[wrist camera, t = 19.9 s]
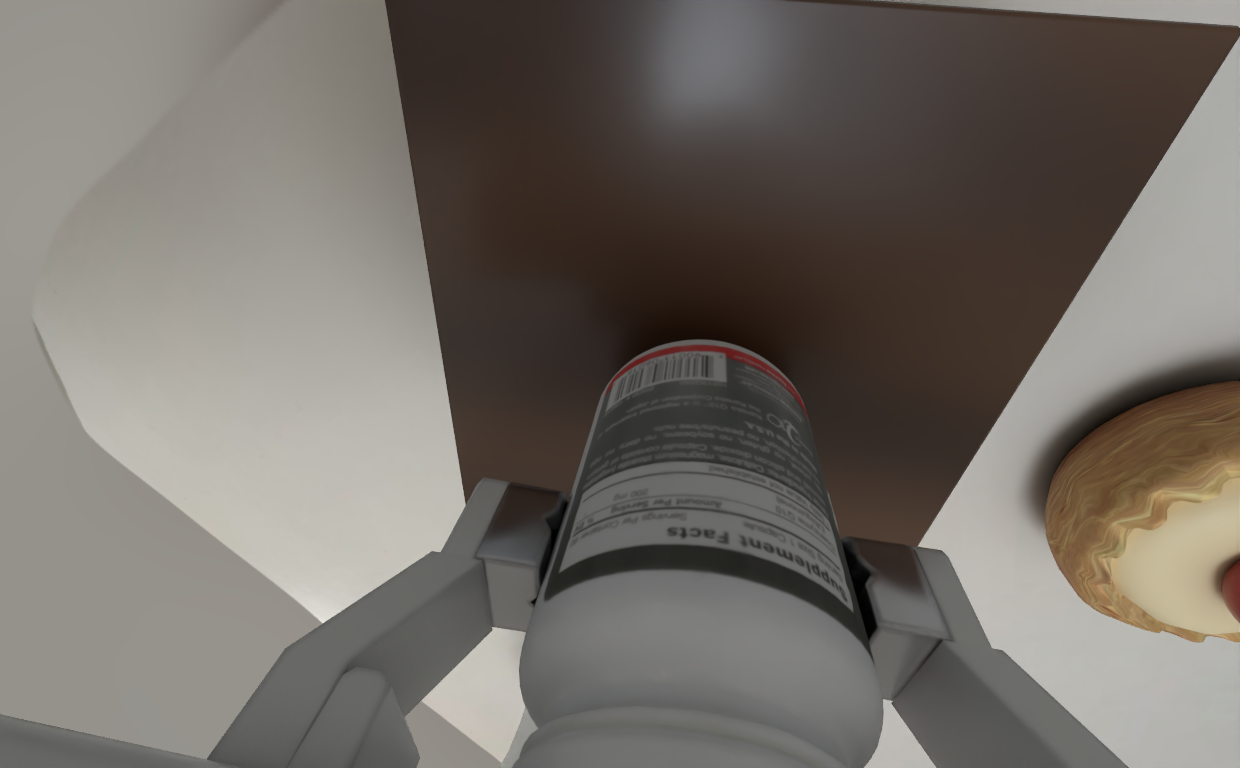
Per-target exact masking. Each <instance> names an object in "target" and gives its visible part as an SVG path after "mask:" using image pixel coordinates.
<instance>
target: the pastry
mask: <svg viewBox="0 0 1240 768" xmlns="http://www.w3.org/2000/svg"><path fill="white" fill-rule="evenodd" d="M1045 525H1046V536H1047V540H1048V544H1049V547H1050V549H1051V552H1052V554H1053V557H1054V559H1055V561H1056V563H1057V566H1058V567H1059V569H1060V570H1061V572H1062V573H1063V575H1064V576H1065V578H1066V579H1067V581H1068V582H1069V583H1070V585H1071V586H1072V588H1073V589H1074V590H1075V592H1076V593H1077V595H1078V596H1079V597H1080V598H1081V599H1082V600H1083V601H1084V602H1085V603H1086V604H1088V605H1089V606H1091V607H1092V608H1093V609H1095V610H1096V611H1098V612H1100V613H1102V614H1104V615H1107V616H1109V617H1112V618H1115V619H1117V620H1119V621H1122V622H1124V623H1127V624H1130V625H1132V626H1135V627H1138V628H1141V629H1143V630H1146V631H1151V632H1156V633H1160V631H1165V632H1169V633H1172V634H1175V635H1177V636H1180V637H1182V638H1185V639H1187V640H1189V641H1192V642H1203V641H1204V640H1205V637H1206V636H1215V637H1221V638H1224V639H1227V640H1230V641H1234V642H1240V381H1229V382H1222V383H1214V384H1208V385H1203V386H1198V387H1193V388H1188V389H1183V390H1180V391H1177V392H1174V393H1171V394H1168V395H1165V396H1162V397H1159V398H1156V399H1154V400H1151V401H1148V402H1146V403H1143V404H1141V405H1138V406H1136V407H1134V408H1132V409H1130V410H1128V411H1126V412H1124V413H1122V414H1120V415H1118V416H1117V417H1115V418H1113V419H1111V420H1110V421H1108V422H1106V423H1105V424H1103V425H1101V426H1099V427H1098V428H1096V429H1095V430H1094V431H1093V432H1091V433H1090V434H1089V435H1088V436H1086V437H1085V438H1084V439H1083V440H1081V441H1080V442H1079V443H1078V444H1077V445H1076V446H1075V447H1074V448H1073V449H1072V450H1071V451H1070V452H1069V453H1068V454H1067V455H1066V457H1065V458H1064V459H1063V461H1062V462H1061V464H1060V465H1059V467H1058V468H1057V470H1056V472H1055V474H1054V475H1053V478H1052V482H1051V485H1050V489H1049V494H1048V499H1047V503H1046V509H1045Z"/></svg>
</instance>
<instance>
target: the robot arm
mask: <svg viewBox="0 0 1240 768" xmlns="http://www.w3.org/2000/svg"><path fill="white" fill-rule="evenodd" d="M566 507H567V493H566V492H564V491H558V490H553V489H548V488H542V487H537V486H532V485H526V484H521V483H515V482H508V481H502V480H497V479H491V478H486V477H484V478H483V479H482V480H481V481H480V482H479V483H478V484H477V486H476V487H475V489H474V491H473V493H472V495H471V497H470V499H469V500H468V502H467V504H466V506H465V508H464V510H463V512H462V514H461V515H460V517H459V519H458V521H457V523H456V525H455V527H454V528H453V530H452V532H451V534H450V536H449V538H448V540H447V542H446V543H445V545H444V547H443V549H442V551H441V552H434V551H432V552H430V553H429V554H427V555H426V556H424V557H423V558H421V559H420V560H418V561H417V562H415V563H414V564H412V565H411V566H409V567H408V568H406V569H405V570H403V571H402V572H400V573H399V574H397V575H396V576H394V577H392V578H391V579H389V580H388V581H386V582H385V583H383V584H382V585H380V586H379V587H377V588H376V589H374V590H373V591H371V592H370V593H368V594H367V595H365V596H364V597H362V598H361V599H359V600H358V601H356V602H355V603H353V604H352V605H350V606H349V607H347V608H346V609H344V610H343V611H341V612H340V613H338V614H337V615H335V616H334V617H332V618H331V619H329V620H328V621H326V622H325V623H323V624H322V625H320V626H319V627H317V628H316V629H314V630H313V631H311V632H310V633H308V634H307V635H305V636H303V637H302V638H300V639H299V640H297V641H296V642H295V643H293V644H291V645H290V646H288V647H287V648H286V649H285V650H284V651H283V653H282V654H281V655H280V657H279V658H278V660H277V661H276V663H275V664H274V665H273V667H272V668H271V670H270V671H269V672H268V674H267V675H266V676H265V678H264V680H263V681H262V682H261V683H260V685H259V686H258V688H257V689H256V690H255V692H254V693H253V695H252V696H251V698H250V699H249V700H248V702H247V703H246V705H245V706H244V707H243V709H242V710H241V712H240V713H239V714H238V716H237V717H236V719H235V720H234V722H233V723H232V724H231V726H230V727H229V728H228V730H227V731H226V733H225V734H224V736H223V737H222V739H221V740H220V741H219V743H218V744H217V746H216V747H215V748H214V750H213V751H212V752H211V754H210V755H209V757H208V758H207V760H205V759H201V758H196V757H192V756H187V755H183V754H178V753H174V752H169V751H164V750H160V749H156V748H151V747H146V746H142V745H137V744H133V743H128V742H124V741H119V740H115V739H110V738H105V737H101V736H96V735H91V734H87V733H83V732H78V731H74V730H69V729H64V728H60V727H55V726H51V725H46V724H42V723H37V722H32V721H28V720H23V719H18V718H14V717H10V716H4V715H0V768H416V767H417V764H418V762H419V759H420V757H419V753H418V750H417V747H416V745H415V742H414V739H413V737H412V735H411V732H410V730H409V727H408V725H407V722H406V720H405V716H406V715H407V714H408V713H409V712H410V711H411V710H412V709H413V708H414V707H415V706H416V705H417V704H418V703H419V702H420V701H421V700H422V699H423V698H424V697H425V696H426V695H427V694H428V693H429V692H430V691H431V690H432V689H433V688H434V687H435V686H436V685H437V684H438V683H439V682H440V681H441V680H442V679H443V678H444V677H445V676H446V675H447V674H448V673H450V672H451V671H452V670H453V669H454V668H455V667H456V666H457V665H458V664H459V663H460V662H461V661H462V660H463V659H464V658H465V657H466V656H467V655H468V654H469V653H470V652H471V651H472V650H473V649H474V648H475V647H476V646H477V645H478V644H479V643H480V642H481V641H482V640H483V639H484V638H485V637H486V636H487V635H488V634H489V633H490V632H491V631H492V627H497V628H504V629H510V630H516V631H523V632H527V629H528V625H529V621H530V618H531V614H532V612H533V609H534V605H535V602H536V599H537V596H538V593H539V589H540V586H541V583H542V580H543V578H544V575H545V572H546V569H547V566H548V563H549V560H550V557H551V554H552V550H553V546H554V543H555V540H556V536H557V533H558V531H559V528H560V525H561V521H562V518H563V516H564V513H565V510H566ZM841 542H842V546H843V550H844V554H845V557H846V561H847V565H848V569H849V572H850V576H851V580H852V583H853V587H854V591H855V594H856V598H857V601H858V605H859V609H860V612H861V616H862V620H863V623H864V627H865V630H866V634H867V637H868V641H869V645H870V648H871V652H872V656H873V659H874V663H875V667H876V671H877V676H878V680H879V685H880V689H881V694H882V699H886V700H891V701H893V702H892V705H893V706H894V708H895V709H896V711H897V712H898V713H899V715H900V716H901V718H902V719H903V720H904V722H905V723H906V725H907V726H908V728H909V729H910V730H911V732H912V733H913V735H914V736H915V738H916V739H917V740H918V742H919V743H920V745H921V746H922V747H923V749H924V750H925V752H926V753H927V755H928V756H929V757H930V759H931V760H932V762H933V763H934V765H935V766H936V767H937V768H1129V767H1128V766H1127V765H1125V764H1124V763H1123V762H1122V761H1121V760H1120V759H1119V758H1118V757H1117V756H1116V755H1115V754H1114V753H1113V752H1111V751H1110V750H1109V749H1108V748H1107V747H1106V746H1105V745H1104V744H1103V743H1102V742H1101V741H1100V740H1099V739H1097V738H1096V737H1095V736H1094V735H1093V734H1092V733H1091V732H1090V731H1089V730H1088V729H1087V728H1086V727H1085V726H1083V725H1082V724H1081V723H1080V722H1079V721H1078V720H1077V719H1076V718H1075V717H1074V716H1073V715H1072V714H1071V713H1069V712H1068V711H1067V710H1066V709H1065V708H1064V707H1063V706H1062V705H1061V704H1060V703H1059V702H1058V701H1057V700H1055V699H1054V698H1053V697H1052V696H1051V695H1050V694H1049V693H1048V692H1047V691H1046V690H1045V689H1044V688H1043V687H1041V686H1040V685H1039V684H1038V683H1037V682H1036V681H1035V680H1034V679H1033V678H1032V677H1031V676H1030V675H1028V674H1027V673H1026V672H1025V671H1024V670H1023V669H1022V668H1021V667H1020V666H1019V665H1018V664H1017V663H1016V662H1014V661H1013V660H1012V659H1011V658H1010V657H1009V656H1008V655H1007V654H1006V653H1005V652H1004V651H1003V650H998V649H993V648H992V647H991V645H990V643H989V641H988V639H987V637H986V635H985V633H984V631H983V628H982V626H981V624H980V622H979V620H978V618H977V616H976V614H975V612H974V610H973V608H972V605H971V603H970V601H969V599H968V597H967V595H966V593H965V591H964V589H963V587H962V585H961V583H960V580H959V578H958V576H957V574H956V572H955V570H954V568H953V566H952V564H951V562H950V560H949V558H948V556H947V555H946V554H945V553H944V552H943V551H942V550H936V549H929V548H923V547H916V546H910V545H909V546H907V545H905V544H899V543H892V542H885V541H878V540H872V539H865V538H858V537H851V536H845V537H844V538H842V539H841Z"/></svg>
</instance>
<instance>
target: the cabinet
mask: <svg viewBox="0 0 1240 768" xmlns="http://www.w3.org/2000/svg"><path fill="white" fill-rule="evenodd" d="M385 3H386V9H387V16H388V22H389V28H390V34H391V41H392V47H393V53H394V59H395V66H396V72H397V78H398V84H399V91H400V97H401V103H402V109H403V115H404V122H405V128H406V134H407V140H408V147H409V153H410V159H411V165H412V172H413V178H414V184H415V190H416V197H417V203H418V209H419V215H420V222H421V228H422V234H423V240H424V247H425V253H426V259H427V265H428V272H429V278H430V284H431V290H432V297H433V303H434V309H435V315H436V322H437V328H438V334H439V340H440V347H441V353H442V359H443V365H444V372H445V378H446V384H447V390H448V396H449V403H450V409H451V415H452V421H453V428H454V434H455V440H456V446H457V453H458V459H459V465H460V471H461V478H462V484H463V490H464V496H465V503H466V504H467V502H468V500H469V499H470V497H471V495H472V493H473V491H474V489H475V487H476V486H477V484H478V483H479V482H480V481H481V480H482V479H483V478H484V477H486V478H491V479H497V480H502V481H508V482H515V483H521V484H526V485H532V486H537V487H542V488H548V489H553V490H558V491H564V492H566V493H567V503H568V500H569V497H570V494H571V490H572V487H573V484H574V481H575V477H576V474H577V471H578V468H579V465H580V462H581V458H582V455H583V452H584V449H585V445H586V442H587V439H588V436H589V433H590V429H591V424H592V422H593V419H594V417H595V413H596V410H597V407H598V403H599V401H600V398H601V396H602V393H603V392H604V390H605V388H606V386H607V384H608V383H609V382H610V381H611V379H612V378H613V377H614V375H615V374H616V373H617V372H618V371H619V370H620V369H621V368H622V367H623V366H624V365H626V364H627V363H628V362H629V361H631V360H632V359H633V358H635V357H636V356H638V355H640V354H642V353H644V352H646V351H648V350H650V349H652V348H655V347H657V346H660V345H664V344H667V343H672V342H677V341H683V340H696V339H701V340H716V341H722V342H726V343H730V344H734V345H737V346H740V347H743V348H745V349H748V350H750V351H752V352H754V353H756V354H758V355H760V356H761V357H763V358H765V359H766V360H768V361H769V362H770V363H772V364H773V365H774V366H775V367H777V368H778V369H779V370H780V371H781V372H782V373H783V374H784V375H785V376H786V377H787V378H788V379H789V380H790V381H791V383H792V384H793V385H794V387H795V388H796V390H797V392H798V393H799V395H800V397H801V399H802V401H803V403H804V406H805V409H806V413H807V415H808V418H809V422H810V426H811V430H812V434H813V439H814V443H815V447H816V450H817V454H818V458H819V462H820V466H821V469H822V473H823V477H824V481H825V485H826V488H827V490H828V493H829V496H830V501H831V504H832V508H833V511H834V514H835V517H836V521H837V526H838V531H839V535H840V539H842V538H844V537H845V536H851V537H858V538H865V539H872V540H878V541H885V542H892V543H899V544H905V545H907V546H909V545H910V546H916V547H917V546H918V545H919V543H920V541H921V540H922V538H923V537H924V535H925V533H926V532H927V530H928V529H929V527H930V526H931V524H932V522H933V521H934V519H935V518H936V516H937V514H938V513H939V511H940V510H941V508H942V507H943V505H944V503H945V502H946V500H947V499H948V497H949V495H950V494H951V492H952V491H953V489H954V488H955V486H956V484H957V483H958V481H959V480H960V478H961V476H962V475H963V473H964V472H965V470H966V469H967V467H968V465H969V464H970V462H971V461H972V459H973V457H974V456H975V454H976V453H977V451H978V450H979V448H980V446H981V445H982V443H983V442H984V440H985V438H986V437H987V435H988V434H989V432H990V431H991V429H992V427H993V426H994V424H995V423H996V421H997V419H998V418H999V416H1000V415H1001V413H1002V412H1003V410H1004V408H1005V407H1006V405H1007V404H1008V402H1009V400H1010V399H1011V397H1012V396H1013V394H1014V393H1015V391H1016V389H1017V388H1018V386H1019V385H1020V383H1021V381H1022V380H1023V378H1024V377H1025V375H1026V374H1027V372H1028V370H1029V369H1030V367H1031V366H1032V364H1033V362H1034V361H1035V359H1036V358H1037V356H1038V355H1039V353H1040V351H1041V350H1042V348H1043V347H1044V345H1045V343H1046V342H1047V340H1048V339H1049V337H1050V336H1051V334H1052V332H1053V331H1054V329H1055V328H1056V326H1057V324H1058V323H1059V321H1060V320H1061V318H1062V317H1063V315H1064V313H1065V312H1066V310H1067V309H1068V307H1069V305H1070V304H1071V302H1072V301H1073V299H1074V297H1075V296H1076V294H1077V293H1078V291H1079V290H1080V288H1081V286H1082V285H1083V283H1084V282H1085V280H1086V278H1087V277H1088V275H1089V274H1090V272H1091V271H1092V269H1093V267H1094V266H1095V264H1096V263H1097V261H1098V259H1099V258H1100V256H1101V255H1102V253H1103V252H1104V250H1105V248H1106V247H1107V245H1108V244H1109V242H1110V240H1111V239H1112V237H1113V236H1114V234H1115V233H1116V231H1117V229H1118V228H1119V226H1120V225H1121V223H1122V221H1123V220H1124V218H1125V217H1126V215H1127V214H1128V212H1129V210H1130V209H1131V207H1132V206H1133V204H1134V202H1135V201H1136V199H1137V198H1138V196H1139V195H1140V193H1141V191H1142V190H1143V188H1144V187H1145V185H1146V183H1147V182H1148V180H1149V179H1150V177H1151V176H1152V174H1153V172H1154V171H1155V169H1156V168H1157V166H1158V164H1159V163H1160V161H1161V160H1162V158H1163V157H1164V155H1165V153H1166V152H1167V150H1168V149H1169V147H1170V145H1171V144H1172V142H1173V141H1174V139H1175V138H1176V136H1177V134H1178V133H1179V131H1180V130H1181V128H1182V126H1183V125H1184V123H1185V122H1186V120H1187V119H1188V117H1189V115H1190V114H1191V112H1192V111H1193V109H1194V107H1195V106H1196V104H1197V103H1198V101H1199V100H1200V98H1201V96H1202V95H1203V93H1204V92H1205V90H1206V88H1207V87H1208V85H1209V84H1210V82H1211V81H1212V79H1213V77H1214V76H1215V74H1216V73H1217V71H1218V69H1219V68H1220V66H1221V65H1222V63H1223V62H1224V60H1225V58H1226V57H1227V55H1228V54H1229V52H1230V50H1231V49H1232V47H1233V46H1234V44H1235V43H1236V41H1237V39H1238V38H1239V36H1240V28H1239V27H1238V26H1231V25H1217V24H1203V23H1188V22H1174V21H1159V20H1145V19H1131V18H1116V17H1102V16H1087V15H1073V14H1059V13H1044V12H1030V11H1015V10H1001V9H987V8H972V7H958V6H943V5H929V4H915V3H900V2H886V1H871V0H385Z"/></svg>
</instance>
